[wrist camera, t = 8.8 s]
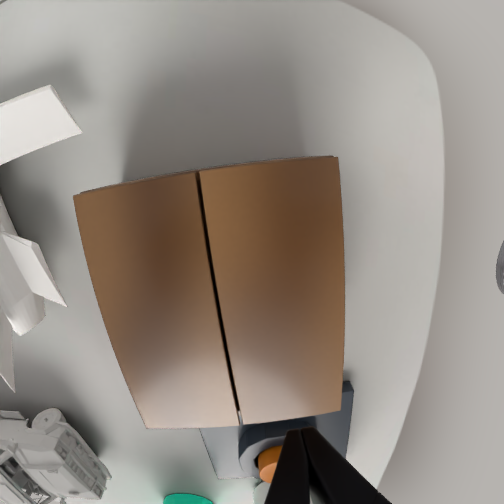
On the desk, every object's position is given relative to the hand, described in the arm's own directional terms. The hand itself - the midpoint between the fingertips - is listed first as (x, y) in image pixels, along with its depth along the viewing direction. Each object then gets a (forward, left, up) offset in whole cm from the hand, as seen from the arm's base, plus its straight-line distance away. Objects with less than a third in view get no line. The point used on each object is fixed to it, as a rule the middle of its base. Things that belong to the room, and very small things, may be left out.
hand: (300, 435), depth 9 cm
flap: (0, -1, -6) cm, 6 cm away
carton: (+2, -1, -12) cm, 12 cm away
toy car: (+26, +15, -12) cm, 33 cm away
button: (0, +14, -9) cm, 17 cm away
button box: (0, +14, -12) cm, 18 cm away
